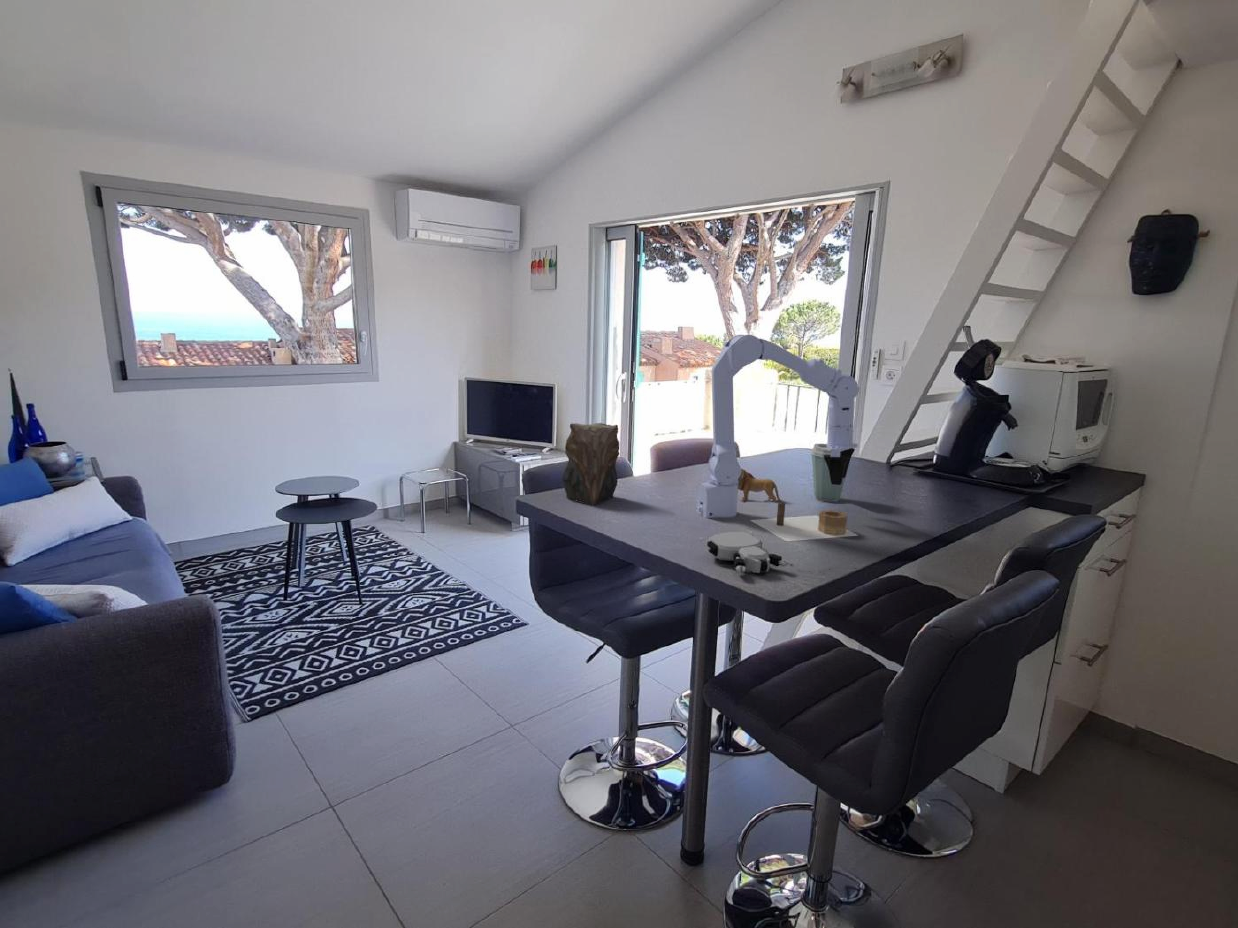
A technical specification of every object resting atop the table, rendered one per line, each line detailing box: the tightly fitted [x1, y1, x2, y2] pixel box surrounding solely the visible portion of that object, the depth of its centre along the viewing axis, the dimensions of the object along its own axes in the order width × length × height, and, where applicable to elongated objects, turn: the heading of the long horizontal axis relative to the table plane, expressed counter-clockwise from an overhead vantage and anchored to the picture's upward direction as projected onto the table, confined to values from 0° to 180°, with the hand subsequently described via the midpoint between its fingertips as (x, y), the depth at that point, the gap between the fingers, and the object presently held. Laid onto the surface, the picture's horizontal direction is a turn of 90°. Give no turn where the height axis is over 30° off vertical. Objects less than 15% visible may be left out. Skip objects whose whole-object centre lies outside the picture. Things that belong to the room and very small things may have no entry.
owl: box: [561, 422, 620, 506], centre depth 170 cm, size 13×13×20 cm
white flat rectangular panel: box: [750, 514, 859, 542], centre depth 145 cm, size 18×16×1 cm
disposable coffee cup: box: [810, 443, 846, 503], centre depth 174 cm, size 11×11×15 cm
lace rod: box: [776, 501, 786, 526], centre depth 146 cm, size 2×2×6 cm
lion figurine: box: [738, 468, 782, 503], centre depth 170 cm, size 15×5×9 cm, turn 70°
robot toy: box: [699, 531, 789, 574], centre depth 124 cm, size 12×4×15 cm
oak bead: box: [818, 509, 848, 535], centre depth 142 cm, size 6×6×4 cm
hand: (838, 480), depth 154 cm, fingers open, 7 cm apart
